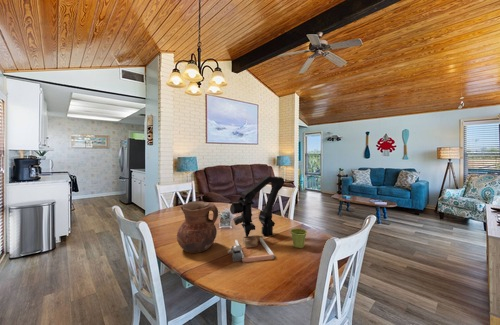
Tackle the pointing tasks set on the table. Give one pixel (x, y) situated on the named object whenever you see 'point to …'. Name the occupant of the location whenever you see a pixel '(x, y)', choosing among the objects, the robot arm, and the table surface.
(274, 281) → the table surface
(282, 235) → the table surface
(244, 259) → the bay
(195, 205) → the jug
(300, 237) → the plant pot
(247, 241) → the crate
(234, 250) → the winch
